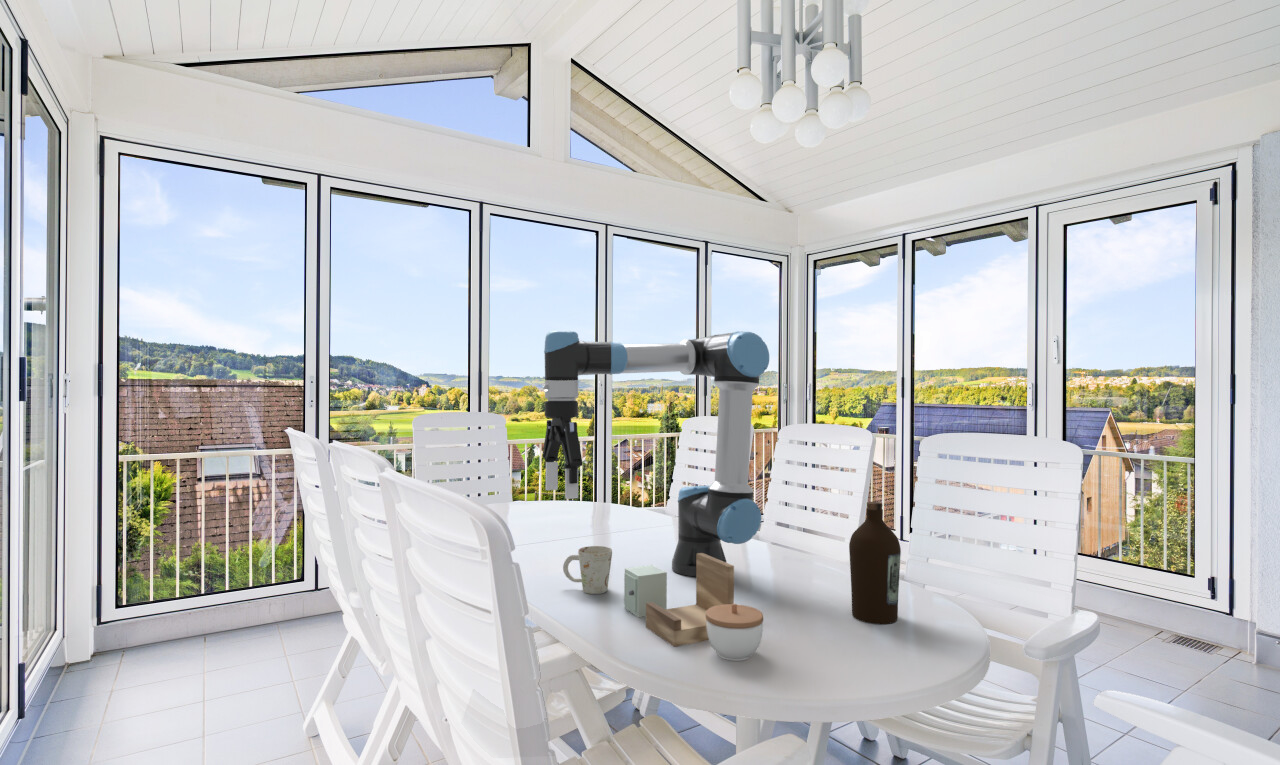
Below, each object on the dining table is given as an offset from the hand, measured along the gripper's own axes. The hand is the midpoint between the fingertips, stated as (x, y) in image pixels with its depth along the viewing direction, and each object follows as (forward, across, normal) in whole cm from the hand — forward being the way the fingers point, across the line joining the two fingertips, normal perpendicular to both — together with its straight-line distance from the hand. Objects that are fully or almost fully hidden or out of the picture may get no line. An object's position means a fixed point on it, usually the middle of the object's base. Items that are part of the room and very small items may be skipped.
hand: (561, 494), depth 151 cm
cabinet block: (+26, +9, +17) cm, 32 cm away
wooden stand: (+26, +24, +19) cm, 40 cm away
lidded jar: (+26, +38, +21) cm, 51 cm away
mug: (+26, -11, +10) cm, 30 cm away
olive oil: (+26, +34, +60) cm, 74 cm away
